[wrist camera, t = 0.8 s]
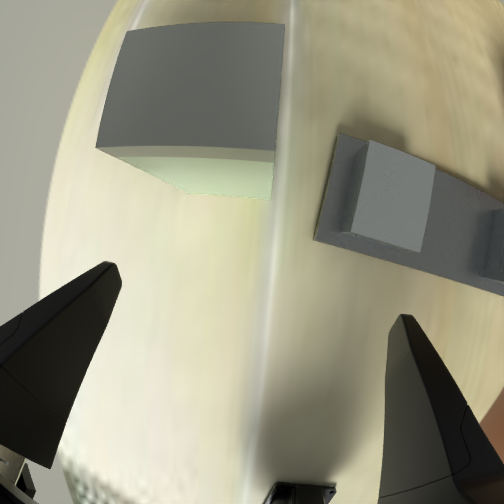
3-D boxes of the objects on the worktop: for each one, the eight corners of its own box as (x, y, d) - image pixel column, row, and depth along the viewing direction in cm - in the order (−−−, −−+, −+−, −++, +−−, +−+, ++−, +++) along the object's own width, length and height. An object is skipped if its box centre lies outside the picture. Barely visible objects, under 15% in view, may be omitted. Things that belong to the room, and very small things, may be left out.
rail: (513, 299, 21) (539, 307, 17) (312, 240, 21) (323, 241, 17) (528, 221, 20) (554, 220, 16) (336, 137, 21) (350, 118, 17)
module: (270, 200, 22) (274, 151, 9) (188, 193, 22) (95, 147, 9) (276, 134, 21) (285, 24, 8) (196, 129, 21) (126, 31, 8)
